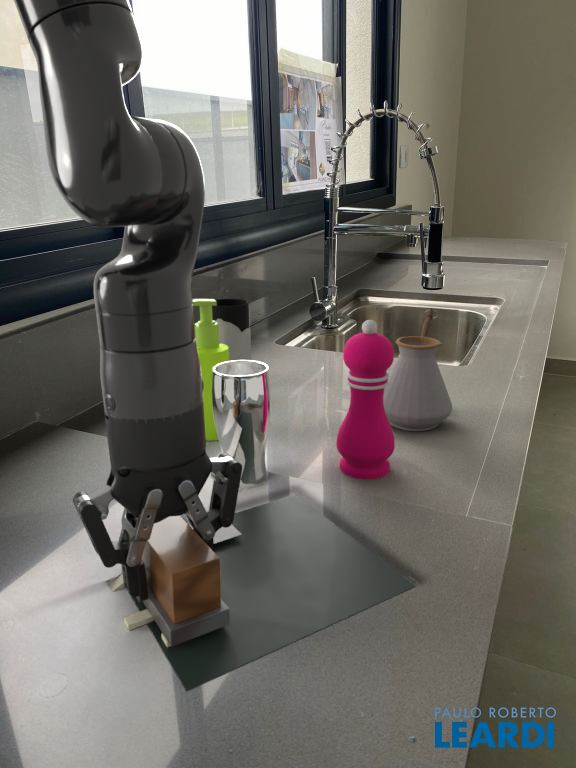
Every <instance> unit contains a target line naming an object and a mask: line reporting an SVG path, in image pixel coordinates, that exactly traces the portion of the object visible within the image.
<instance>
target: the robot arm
mask: <svg viewBox="0 0 576 768" xmlns="http://www.w3.org/2000/svg"><path fill="white" fill-rule="evenodd" d="M13 2H14V4H15V8H16V10H17V13H18V15H19V18H20V21H21V24H22V26H23V29H24V32H25V35H26V37H27V40H28V43H29V46H30V48H31V49H30V50H31V51H32V53H33V56H34V59H35V60H36V61H35V62H36V65H37V74H38V87H39V97H40V106H41V113H42V114H41V115H42V122H43V132H44V143H45V150H46V151H45V152H46V157H47V163H48V167H49V170H50V174H51V178H52V180H53V182H54V184H55V187H56V189H57V190H58V192H59V194H60V195H61V197H62V198H63V200H64V201H65V203H66V204H67V206H69V208H70V209H71V210H72V212H74V214H75V215H77V216H78V217H80V218H81V219H82V220H83V221H85V222H87V223H88V224H90V225H93V226H96V227H101V228H121V227H124V231H123V239H122V244H121V249H120V252H119V254H118V255H117V256H116V257H115V258H113V259H112V260H111V261H109V262H107V263H106V264H104V265H103V266H101V267H100V268H99V269H98V270H97V272H96V273H95V275H94V279H93V300H94V308H95V317H96V324H97V326H96V327H97V333H98V343H99V352H100V355H99V357H100V358H99V377H100V378H99V379H100V388H101V396H102V405H103V413H104V420H105V431H106V437H107V446H108V453H109V455H108V456H109V462H110V471H109V475H108V478H107V480H106V485H104V486H102V487H99V488H98V489H95V490H93V491H91V492H89V493H87V492H86V491H78V492H76V493H75V494H74V495H73V498H72V503H73V505H74V507H75V509H76V512H77V514H78V516H79V519H80V520H81V522H82V525H83V527H84V529H85V532H86V534H87V536H88V538H89V540H90V542H91V545H92V547H93V549H94V551H95V552H96V554H97V555H98V556H99V559H100V561H101V563H102V564H103V567H104V568H105V567H106V568H109V569H110V568H113V567H115V566H117V565H120V566H121V571H122V574H123V581H124V586H125V587H124V588H125V590H126V591H127V592H129V593H128V594H129V596H130V595H131V596H130V598H131V597H132V598H134V597H136V598H137V600H138V601H139V602H142V601H145V600H148V591H147V581H146V572H145V563H144V562H143V560H142V559H141V558H142V554H143V551H144V547H145V543H146V541H147V540H149V539H150V536H151V532H152V529H153V525H154V523H157V522H160V521H162V520H164V519H165V518H167V517H169V516H182V515H185V518H186V519H187V521H188V523H189V525H190V527H191V528H192V529H193V530H194V531H195V532H196V533H197V534H198V535H199V537H200V538H201V539H202V540H203V541H204V542H205V543H206V544H207V545H208V546H209V547H210V548H211V549H212V550H213V551H214V544H215V543H214V537H215V535H216V533H217V532H218V531H219V530H220V529H222V528H224V529H225V528H226V529H227V528H229V527H231V526H233V525H232V523H233V520H234V514H235V513H236V508H237V502H238V498H239V497H238V496H239V491H240V489H239V485H240V480H241V474H242V465H241V463H239V462H238V461H237V460H235V459H234V458H233V457H231V456H230V455H229V454H227V453H221V452H220V454H218V457H209V456H208V454H207V451H206V448H207V441H206V435H205V420H204V404H203V389H204V385H203V380H202V375H201V365H200V360H199V355H198V351H197V345H196V338H195V312H194V311H195V310H194V309H195V308H194V306H193V299H194V296H193V289H192V288H193V287H192V282H193V275H194V271H195V266H196V262H197V258H198V257H197V256H198V253H199V252H198V251H199V245H200V237H201V232H202V231H201V230H202V224H203V217H204V210H205V195H206V193H205V190H206V189H205V176H204V171H203V170H204V169H203V166H202V163H201V160H200V159H201V158H200V156H199V154H198V151H197V149H196V147H195V144H194V143H193V141H192V140H191V138H190V137H189V136H188V135H187V134H186V133H185V131H183V129H182V128H180V127H179V126H177V125H175V124H173V123H171V122H168V121H166V120H162V119H154V118H147V117H139V116H133V115H130V114H129V111H128V109H127V106H126V103H125V97H124V92H123V86H125V85H126V84H128V83H130V82H131V81H132V80H133V79H134V78H136V76H138V74H139V73H140V71H141V69H142V65H143V63H144V48H143V43H142V38H141V35H140V30H139V28H138V25H137V22H136V18H135V15H134V12H133V9H132V6H131V4H130V0H13ZM209 477H211V479H212V480H213V483H212V488H211V489H212V490H211V495H210V502H209V508H208V511H207V510H206V508H205V506H204V504H203V502H202V500H201V498H200V497H199V496H200V493H201V492H202V490H203V488H204V486H205V484H206V482H207V481H208V478H209ZM112 501H116V503H118V504H119V505H120V506H122V507H123V513H122V516H121V530H120V534H119V536H118V537H119V538H118V541H112V539H111V536H110V535H109V532H108V531H107V527H106V525H105V523H104V520H106V519H107V518H108V515H109V513H110V510H109V505H110V503H111V502H112ZM132 598H131V599H132Z"/></svg>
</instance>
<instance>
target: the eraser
mask: <svg viewBox="0 0 576 768" xmlns="http://www.w3.org/2000/svg"><path fill="white" fill-rule="evenodd" d="M141 559H142V560H143V562H144V563H145V572H146V581H147V591H148V600H145V601H142V602H143V603H144V605H145V606H146V608H147V609H148V611H149V612H150V614H151V616H152V617H153V619H154V620H155V622H156V623H157V625H158V626H159V628H160V630H161V631H162V633H163V634H164V636H165V637H166V639H167V640H168V642H169V644H170V645H171V647H173V646H175V645H178V644H180V643H183V642H185V641H188V640H191V639H193V638H196V637H198V636H201V635H203V634H206V633H209V632H211V631H214V630H216V629H219V628H221V627H224V626H227V625H229V624H230V614H229V608H228V607H227V605H226V604H225V603H224V602H223V601H222V599H221V589H220V558H219V557H218V556H217V555H216V554H215V553H214V551H213V550H212V549H211V548H210V547H209V546H208V545H207V544H206V543H205V542H204V541H203V540H202V539H201V538H200V537H199V535H198V534H197V533H196V532H195V531H194V530H193V527H192V526H191V525H190V524H189V523H187V521H186V520H185V519H184V518H183V517H182V515H180V516H169V517H167V518H165V519H164V520H162V521H160V522H157V523H154V525H153V529H152V532H151V536H150V539H149V540H147V541H146V543H145V547H144V551H143V554H142V558H141Z"/></svg>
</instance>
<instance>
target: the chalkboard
mask: <svg viewBox="0 0 576 768" xmlns="http://www.w3.org/2000/svg"><path fill="white" fill-rule="evenodd" d="M231 526H233V528H235V529H236V530H237V532H238V533H240V534H238V535H236V536H233V537H230V538H227V539H226V538H225V539H223V540H221V541H217V542H215V543H214V553H215V554H216V555H217V556H218V557H219V558H220V589H221V599H222V601H223V602H224V603H225V604H226V605H227V607H228V608H229V614H230V624H229V625H227V626H224V627H221V628H219V629H216V630H214V631H211V632H209V633H206V634H203V635H201V636H198V637H196V638H193V639H191V640H188V641H185V642H183V643H180V644H178V645H175V646H173V647H171V646H170V647H167V646H166V645H165V643H164V641H163V640H162V636H161V634H162V631H161V630H160V628H159V626H158V625H157V623H156V622H155V621H152V622H150V623H147V624H146V625H147V627H148V629H149V631H150V632H151V634H152V636H153V637H154V639H155V641H156V643H157V644H158V647H159V648H160V650H161V651H162V653H163V655H164V656H165V658H166V660H167V662H168V663H169V665H170V667H171V669H172V670H173V672H174V675H176V677H177V679H178V680H179V682H180V685H181V686H182V687H183V689H184V691H185V692H190V691H191V690H194V689H195V688H198V687H200V686H203V685H204V684H206V683H209V682H211V681H214V680H215V679H217V678H219V677H222V676H224V675H226V674H228V673H230V672H233V671H235V670H237V669H240V668H241V667H244V666H246V665H248V664H250V663H253V662H254V661H257V660H260V659H261V658H263V657H265V656H267V655H269V654H272V653H274V652H276V651H279V650H280V649H283V648H285V647H287V646H289V645H291V644H294V643H296V642H298V641H300V640H302V639H305V638H307V637H310V636H311V635H314V634H315V633H318V632H320V631H323V630H325V629H327V628H329V627H331V626H333V625H335V624H337V623H341V622H342V621H344V620H347V619H348V618H351V617H353V616H355V615H357V614H359V613H362V612H365V611H366V610H368V609H370V608H372V607H374V606H377V605H379V604H381V603H384V602H385V601H387V600H390V599H392V598H395V597H397V596H399V595H401V594H404V593H405V592H408V591H410V590H411V589H414V588H416V585H415V584H414V583H413V582H411V581H410V580H409V579H407V578H406V577H404V576H403V575H402V574H401V573H399V572H398V571H397V570H396V569H394V568H392V566H391V565H389V564H387V562H385V561H384V560H383V559H381V558H380V557H379V556H377V555H376V554H374V553H373V552H372V551H370V549H368V548H367V547H365V546H364V545H362V544H361V543H360V542H359V541H357V540H356V539H355V538H353V536H351V535H350V534H349V533H347V532H346V531H344V530H343V529H342V528H340V527H339V526H338V525H337V524H336V523H334V522H333V521H331V519H329V518H328V517H326V516H325V515H324V514H322V513H321V512H320V511H318V510H317V509H316V508H314V507H313V506H312V505H310V504H309V503H308V502H306V501H305V500H304V499H303V498H302V497H300V496H298V495H297V494H295V493H294V494H291V495H288V496H285V497H282V498H278V499H275V500H272V501H269V502H266V503H262V504H260V505H256V506H252V507H250V508H247V509H244V510H240V511H237V512H235V514H234V520H233V523H232V525H231ZM120 575H121V574H119V575H118V577H119V576H120ZM127 592H128V591H127ZM128 594H129V592H128ZM129 596H130V598H131V599H132V601H133V603H134V604H135V607H136V608H137V610H138V612H140V611H143V610H145V609H147V608H146V606H145V605H144V603H143V602H139V601H138V600H137V598H136V597H134V598H132V597H131V595H130V594H129Z"/></svg>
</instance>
